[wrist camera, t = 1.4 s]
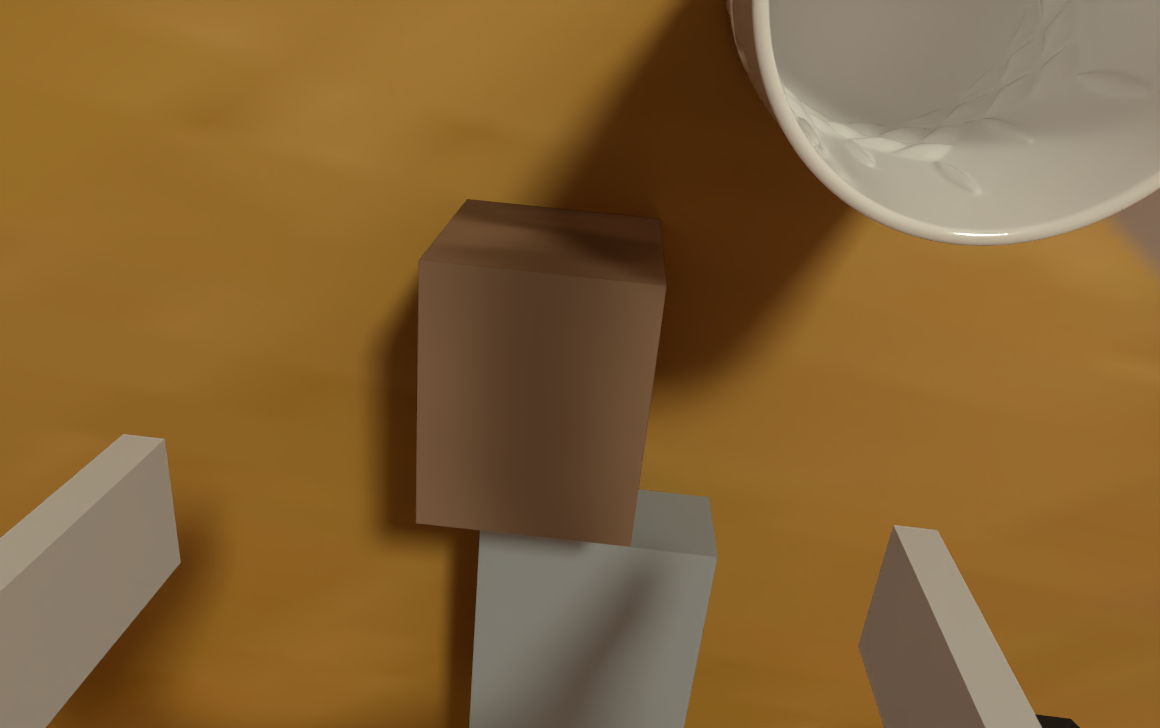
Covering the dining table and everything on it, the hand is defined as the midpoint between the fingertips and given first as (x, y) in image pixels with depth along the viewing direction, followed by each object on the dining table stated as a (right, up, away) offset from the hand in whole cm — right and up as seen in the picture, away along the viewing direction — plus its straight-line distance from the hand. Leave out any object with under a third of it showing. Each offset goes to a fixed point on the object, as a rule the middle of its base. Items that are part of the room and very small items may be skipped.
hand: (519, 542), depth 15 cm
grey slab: (+1, -5, +14) cm, 15 cm away
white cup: (+8, +13, +6) cm, 16 cm away
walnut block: (0, +5, +10) cm, 11 cm away
